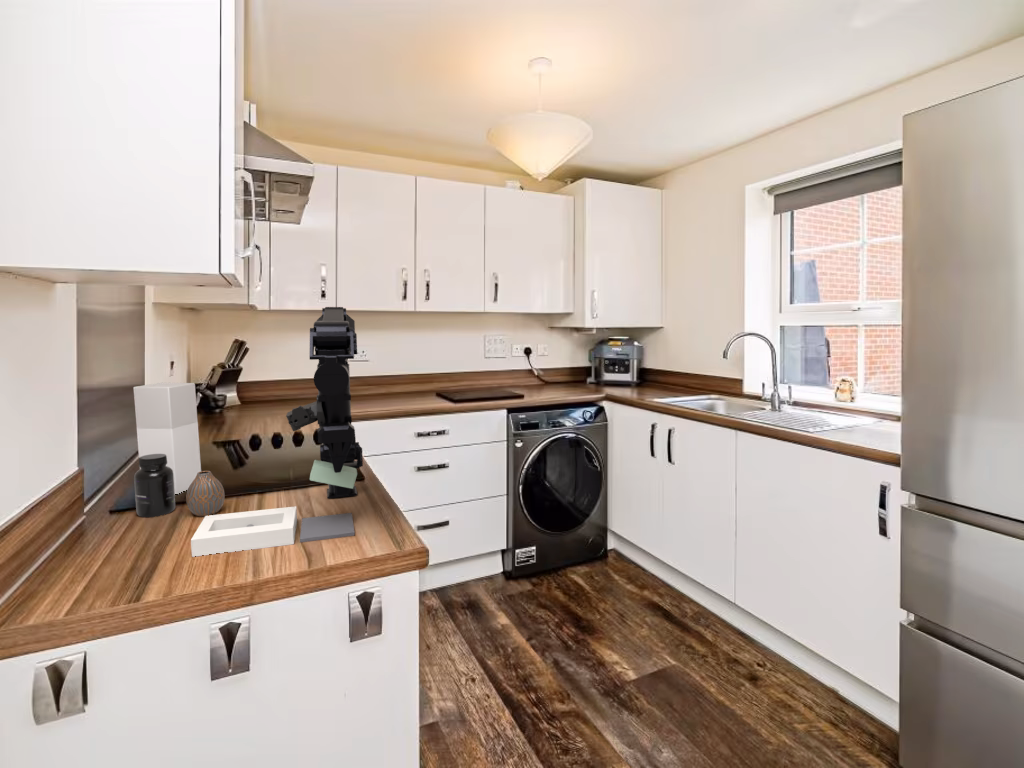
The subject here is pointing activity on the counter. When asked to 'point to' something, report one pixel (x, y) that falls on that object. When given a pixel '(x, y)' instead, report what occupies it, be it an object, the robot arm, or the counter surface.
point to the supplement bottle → (154, 486)
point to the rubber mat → (327, 527)
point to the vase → (205, 494)
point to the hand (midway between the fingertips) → (337, 469)
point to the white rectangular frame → (245, 531)
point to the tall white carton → (169, 428)
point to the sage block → (333, 474)
